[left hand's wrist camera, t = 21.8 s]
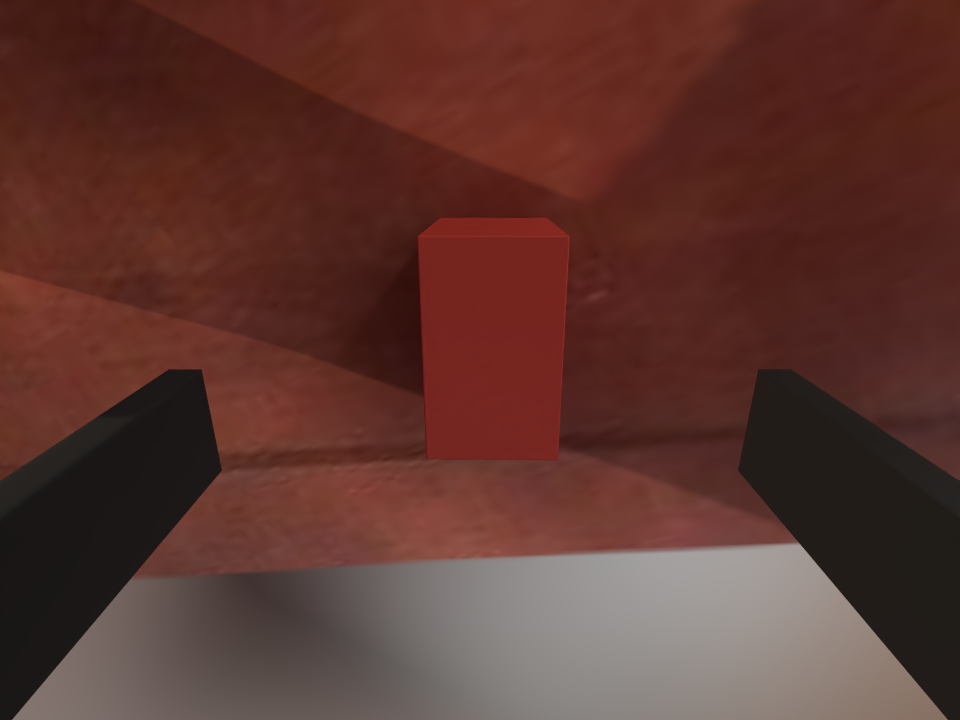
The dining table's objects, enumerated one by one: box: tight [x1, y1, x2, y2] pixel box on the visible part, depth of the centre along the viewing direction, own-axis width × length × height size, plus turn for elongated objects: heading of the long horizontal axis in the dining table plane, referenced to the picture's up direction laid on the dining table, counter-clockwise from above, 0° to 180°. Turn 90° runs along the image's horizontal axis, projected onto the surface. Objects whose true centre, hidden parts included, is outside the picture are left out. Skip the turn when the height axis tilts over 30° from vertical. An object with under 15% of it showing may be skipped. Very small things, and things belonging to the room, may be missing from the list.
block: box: [417, 218, 570, 460], centre depth 22 cm, size 8×5×8 cm, turn 0°
